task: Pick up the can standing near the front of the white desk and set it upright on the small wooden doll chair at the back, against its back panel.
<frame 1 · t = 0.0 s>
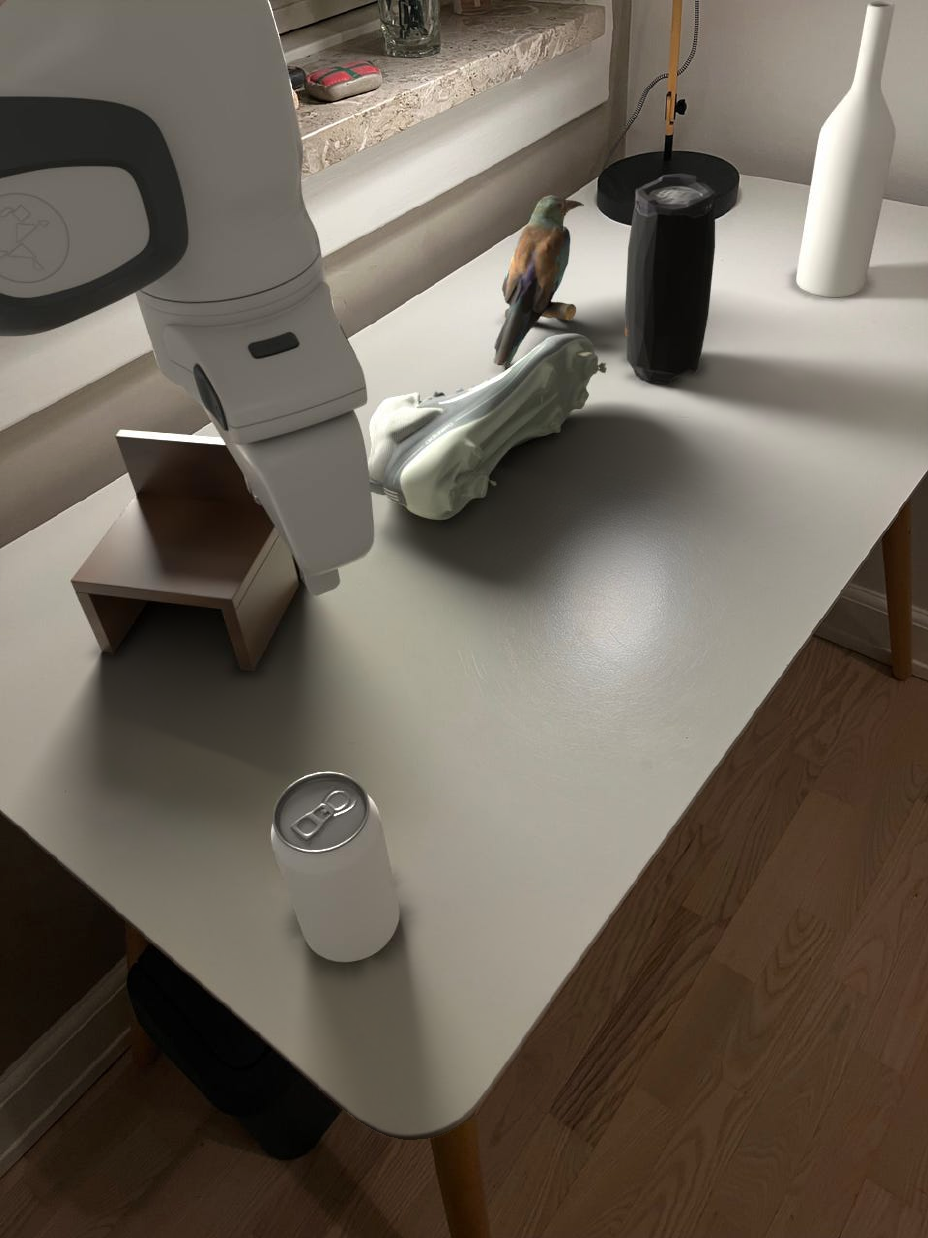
hand: (292, 538, 59), 23 cm above the table, tool pointing down, fingers open, 8 cm apart
baseball cleat: (477, 448, 106), on the table
portable speaker: (662, 367, 114), on the table
wooden doll chair: (205, 612, 90), on the table
can: (351, 921, 67), on the table
bottle: (829, 283, 126), on the table
bird figurine: (541, 329, 122), on the table
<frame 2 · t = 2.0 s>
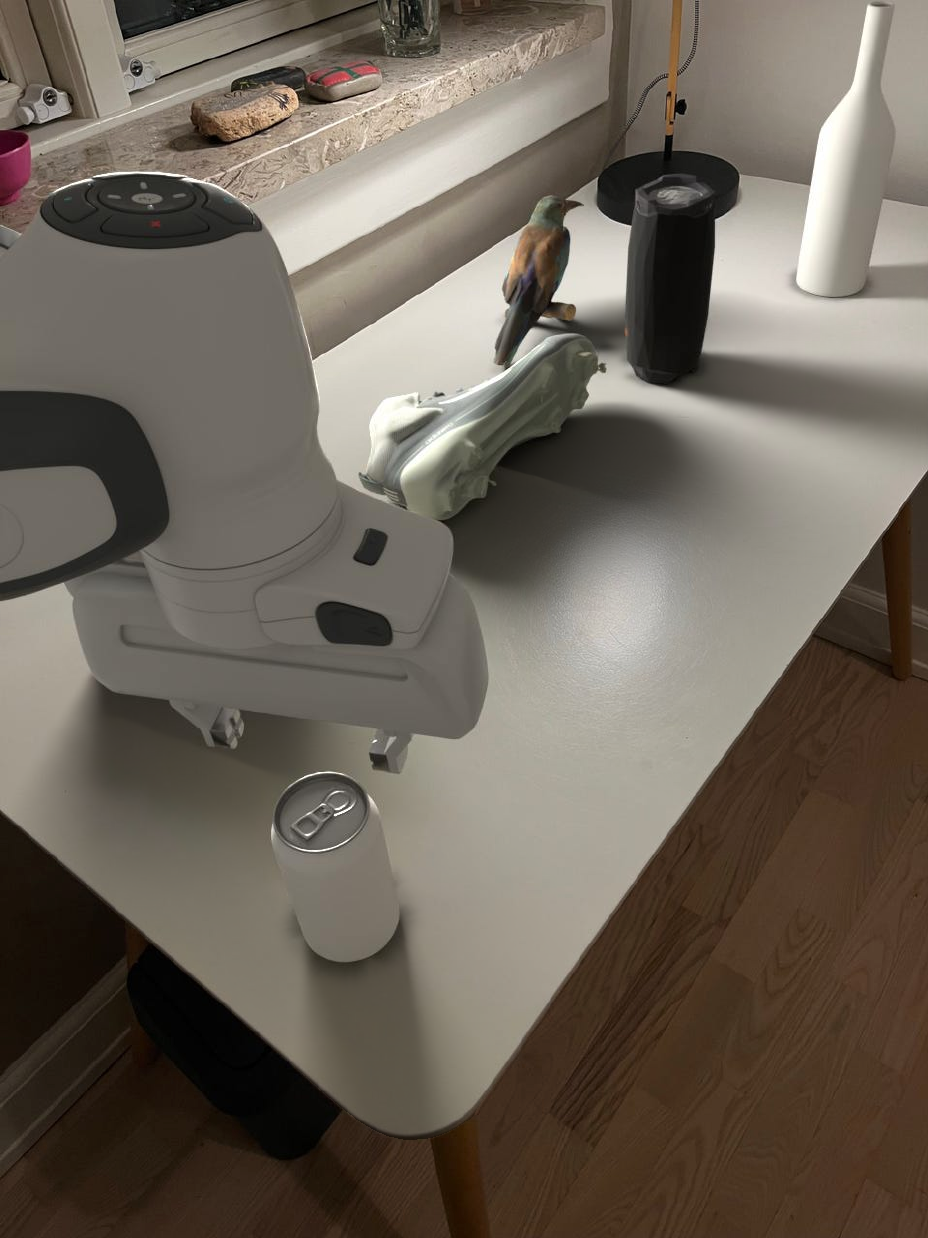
hand: (307, 750, 55), 17 cm above the table, tool pointing down, fingers open, 8 cm apart
nothing on the table moved.
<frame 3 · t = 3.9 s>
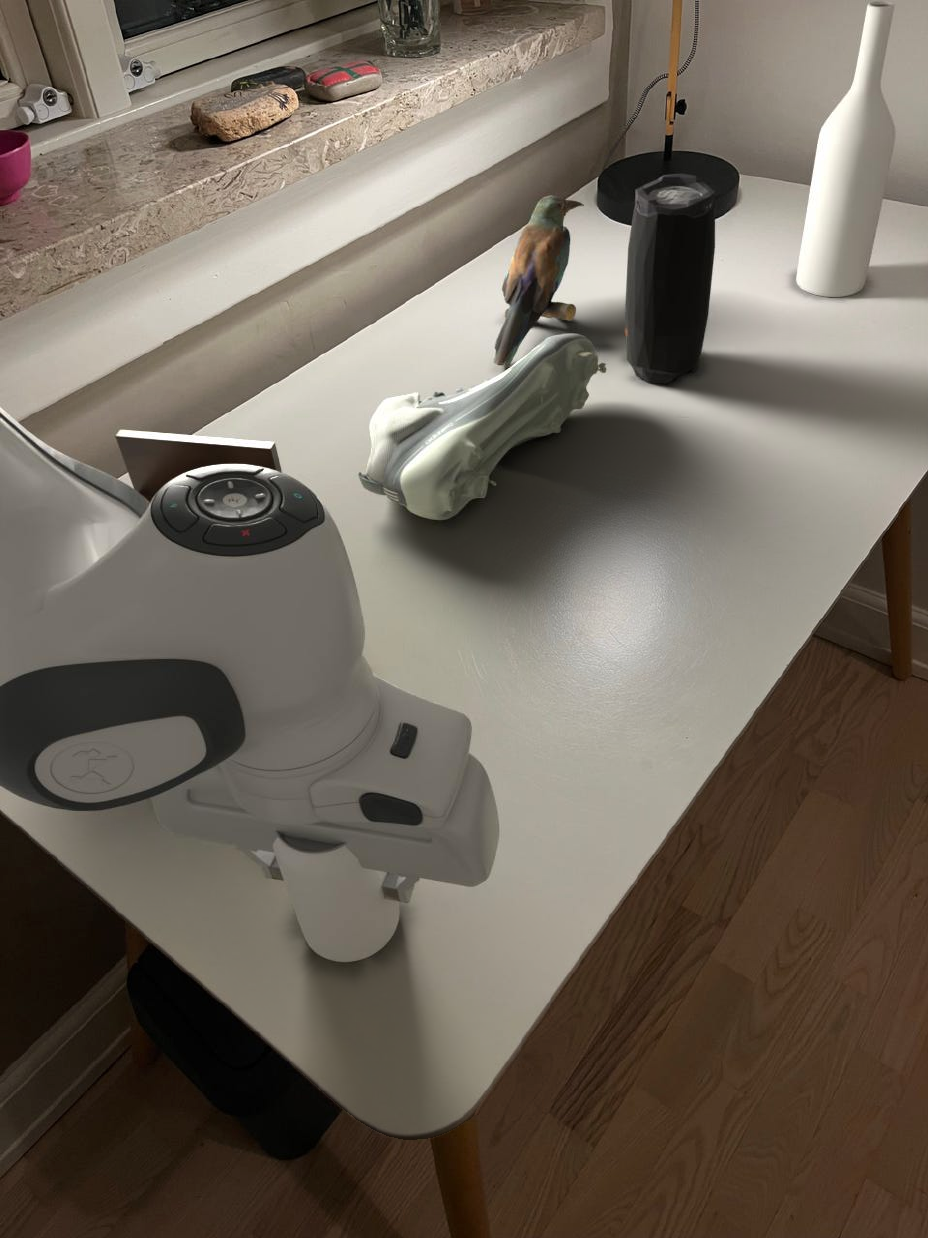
hand: (341, 881, 64), 5 cm above the table, tool pointing down, fingers closed on can, 6 cm apart
can: (352, 921, 67), on the table, touching gripper
everything else where it was.
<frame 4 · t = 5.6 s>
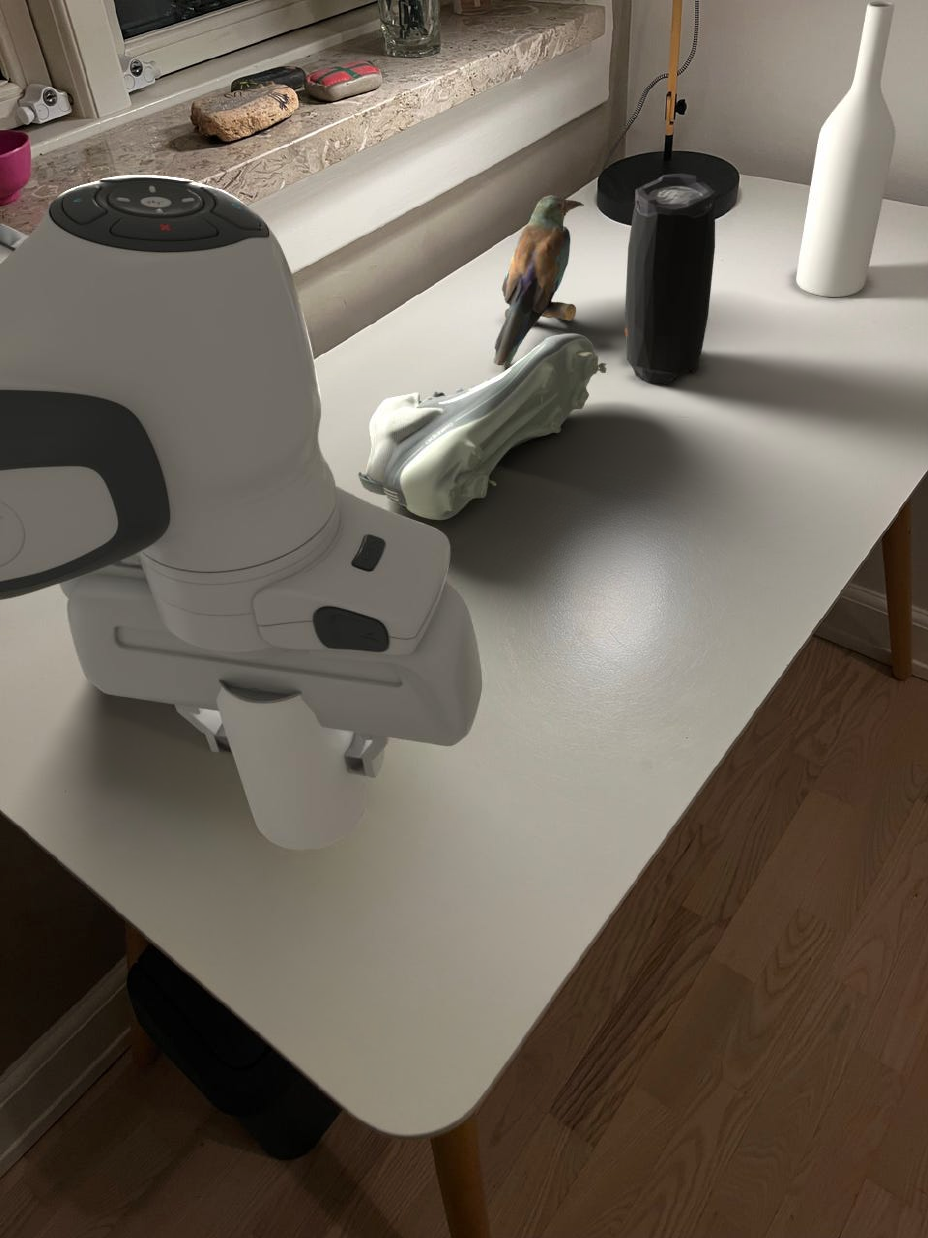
hand: (299, 755, 55), 17 cm above the table, tool pointing down, fingers closed on can, 6 cm apart
can: (312, 808, 59), point 12 cm above the table, touching gripper
everything else where it was.
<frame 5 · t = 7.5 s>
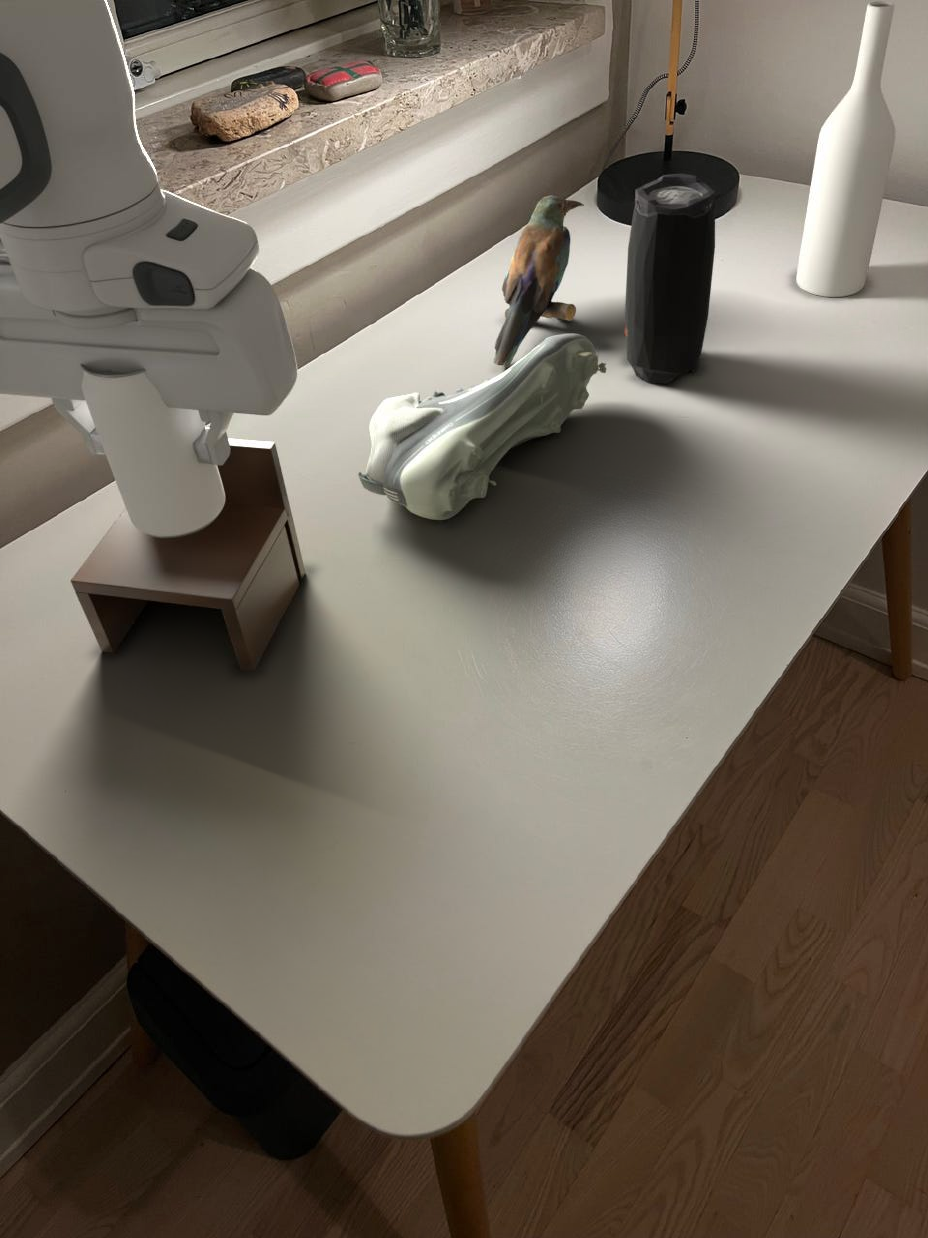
hand: (161, 454, 66), 23 cm above the table, tool pointing down, fingers closed on can, 6 cm apart
can: (180, 513, 70), point 18 cm above the table, touching gripper
everything else where it was.
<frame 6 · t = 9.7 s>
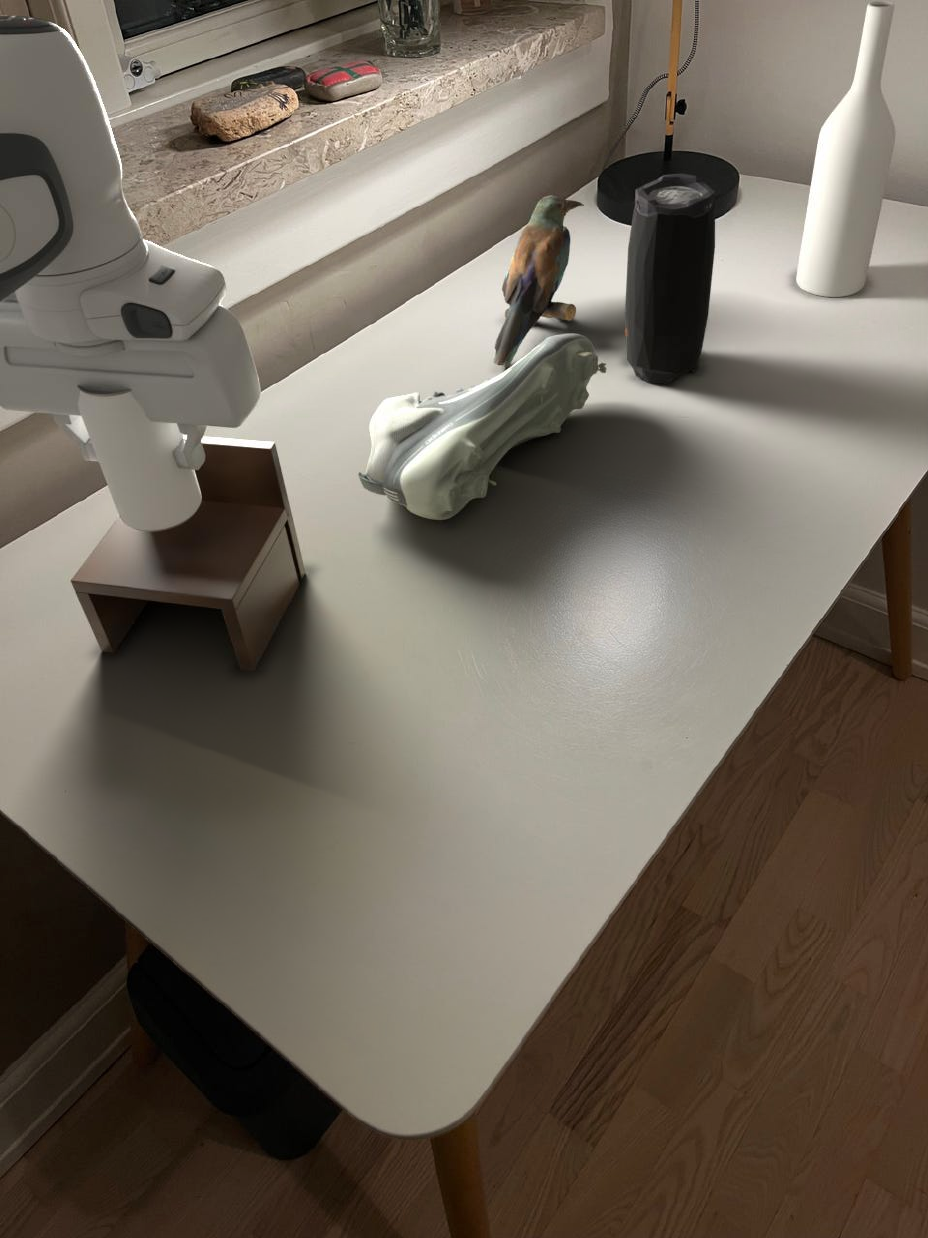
hand: (146, 460, 78), 17 cm above the table, tool pointing down, fingers closed on can, 6 cm apart
can: (162, 510, 81), point 12 cm above the table, touching gripper
everything else where it was.
when the fingers open (12 cm above the table, at t = 11.4 s): can stays where it is, resting on wooden doll chair.
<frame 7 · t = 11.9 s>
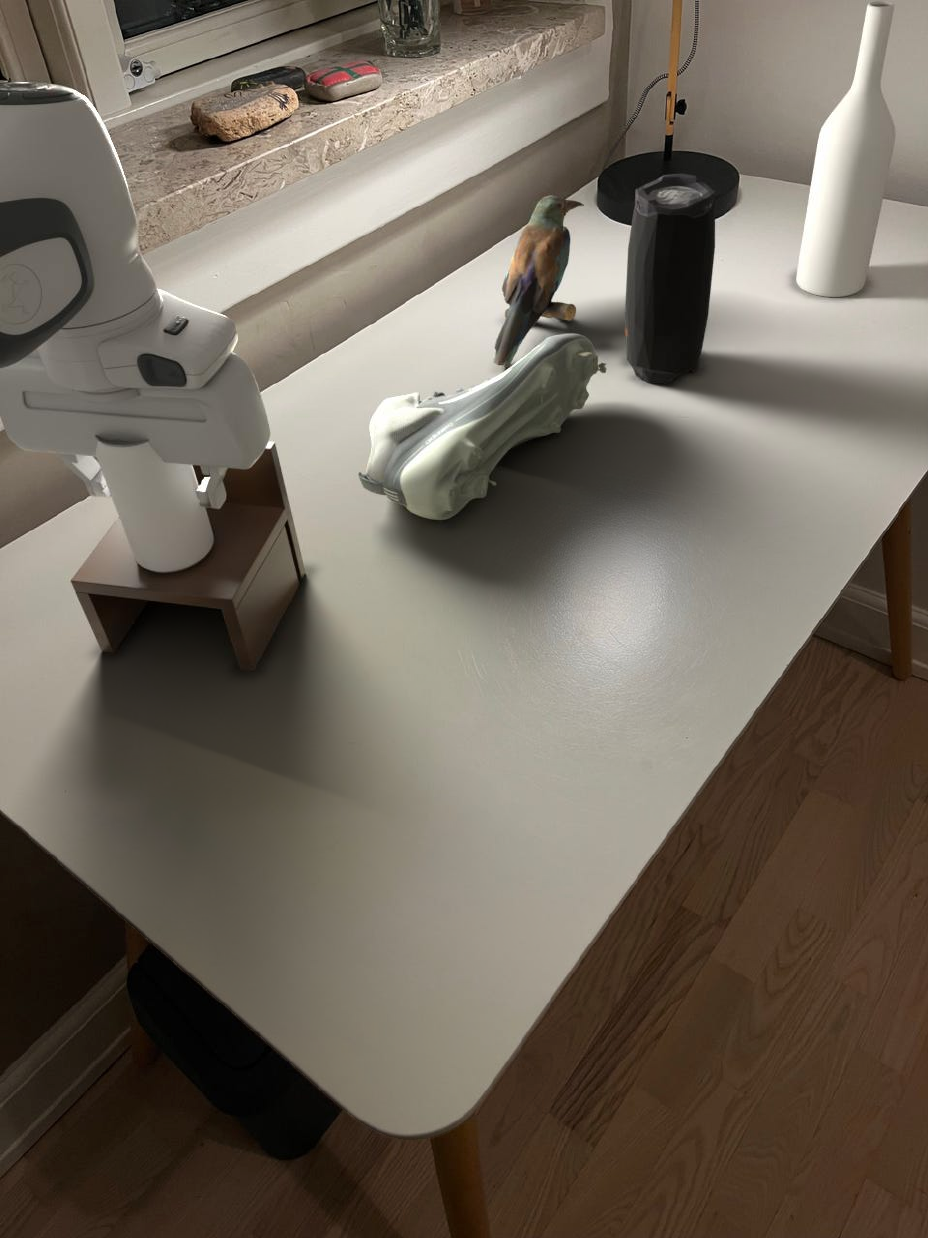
hand: (158, 498, 80), 13 cm above the table, tool pointing down, fingers open, 8 cm apart
can: (176, 551, 84), point 8 cm above the table, touching wooden doll chair
everything else where it was.
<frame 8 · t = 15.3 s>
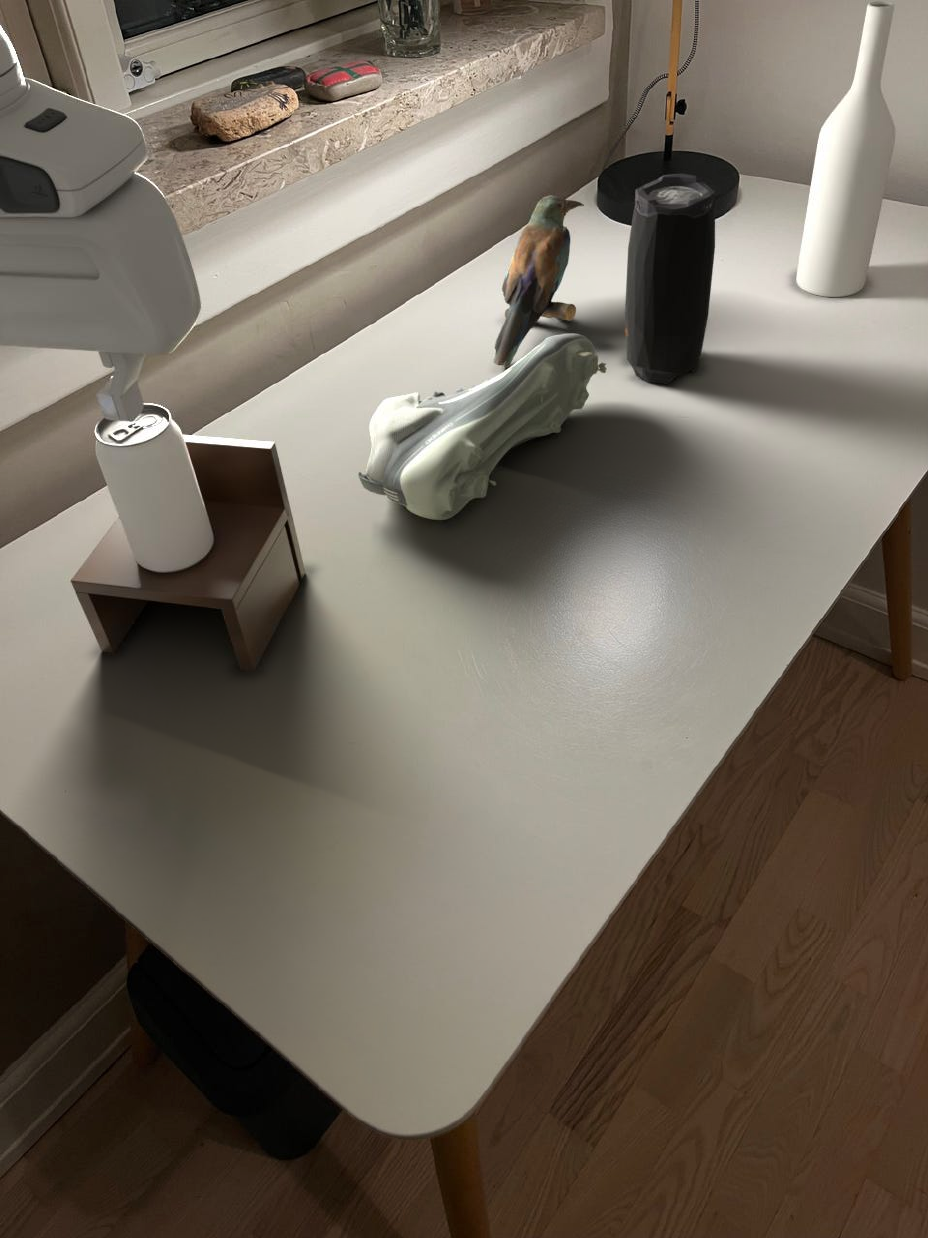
hand: (48, 409, 56), 31 cm above the table, tool pointing down, fingers open, 8 cm apart
nothing on the table moved.
at the end: can inside the target area on the wooden doll chair (0.9 cm from its centre), point 7.8 cm above the wooden doll chair's base; can tilted 0°; the gripper is holding nothing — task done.
